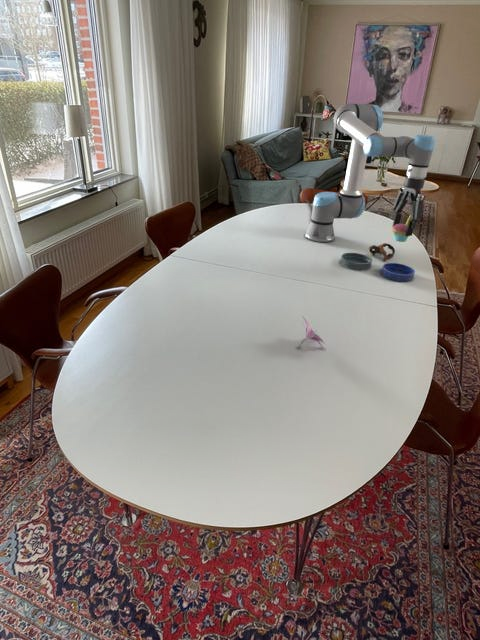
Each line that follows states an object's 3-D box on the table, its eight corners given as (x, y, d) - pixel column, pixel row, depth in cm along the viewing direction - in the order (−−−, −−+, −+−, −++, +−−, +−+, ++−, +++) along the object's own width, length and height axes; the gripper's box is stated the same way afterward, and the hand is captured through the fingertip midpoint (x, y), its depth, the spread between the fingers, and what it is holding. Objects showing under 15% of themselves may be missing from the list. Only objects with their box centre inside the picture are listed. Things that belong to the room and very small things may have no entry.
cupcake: (410, 238, 188) (417, 211, 182) (410, 244, 180) (417, 216, 175) (389, 235, 190) (396, 208, 184) (388, 241, 183) (395, 213, 177)
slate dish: (334, 260, 204) (336, 253, 202) (359, 257, 208) (361, 251, 207) (350, 271, 193) (351, 265, 191) (376, 269, 197) (378, 262, 196)
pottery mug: (386, 254, 215) (395, 244, 209) (387, 269, 210) (397, 258, 203) (364, 247, 213) (373, 236, 206) (365, 262, 208) (374, 251, 201)
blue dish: (374, 270, 196) (376, 264, 194) (399, 268, 200) (401, 261, 198) (393, 283, 184) (395, 276, 183) (419, 280, 189) (421, 273, 187)
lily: (321, 363, 132) (337, 336, 130) (287, 346, 131) (303, 318, 129) (315, 352, 143) (329, 327, 142) (284, 336, 142) (298, 311, 141)
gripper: (391, 171, 180) (379, 224, 191) (425, 183, 162) (410, 241, 174) (406, 171, 182) (393, 224, 193) (441, 183, 165) (425, 240, 176)
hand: (401, 232), depth 183 cm, fingers closed on cupcake, 8 cm apart
